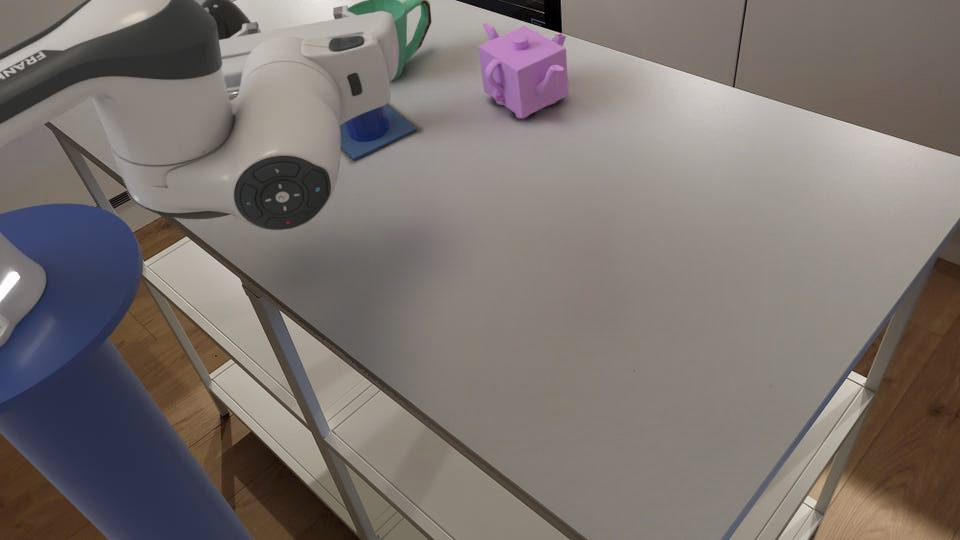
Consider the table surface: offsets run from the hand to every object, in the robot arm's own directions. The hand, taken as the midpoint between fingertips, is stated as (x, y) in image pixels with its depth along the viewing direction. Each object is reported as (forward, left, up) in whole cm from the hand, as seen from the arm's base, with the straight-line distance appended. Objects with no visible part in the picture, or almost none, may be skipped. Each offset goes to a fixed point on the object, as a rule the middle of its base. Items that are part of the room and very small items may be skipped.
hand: (297, 21), depth 78 cm
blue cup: (+9, +12, -24) cm, 29 cm away
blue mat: (+9, +13, -24) cm, 29 cm away
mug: (+21, +25, -25) cm, 41 cm away
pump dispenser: (0, +37, -25) cm, 44 cm away
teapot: (+30, +3, -25) cm, 39 cm away
